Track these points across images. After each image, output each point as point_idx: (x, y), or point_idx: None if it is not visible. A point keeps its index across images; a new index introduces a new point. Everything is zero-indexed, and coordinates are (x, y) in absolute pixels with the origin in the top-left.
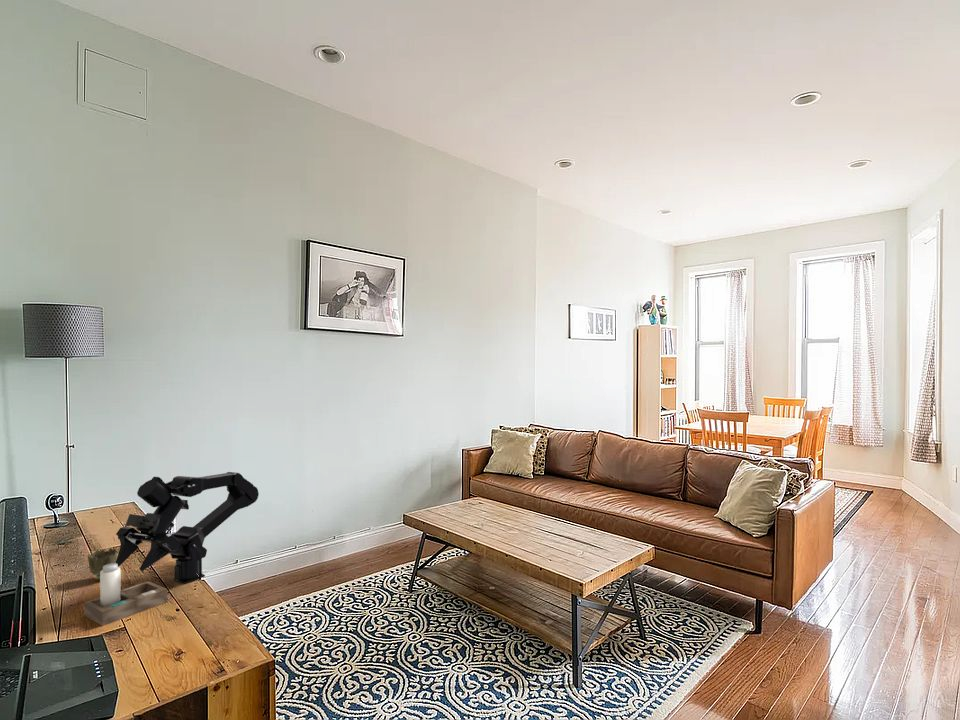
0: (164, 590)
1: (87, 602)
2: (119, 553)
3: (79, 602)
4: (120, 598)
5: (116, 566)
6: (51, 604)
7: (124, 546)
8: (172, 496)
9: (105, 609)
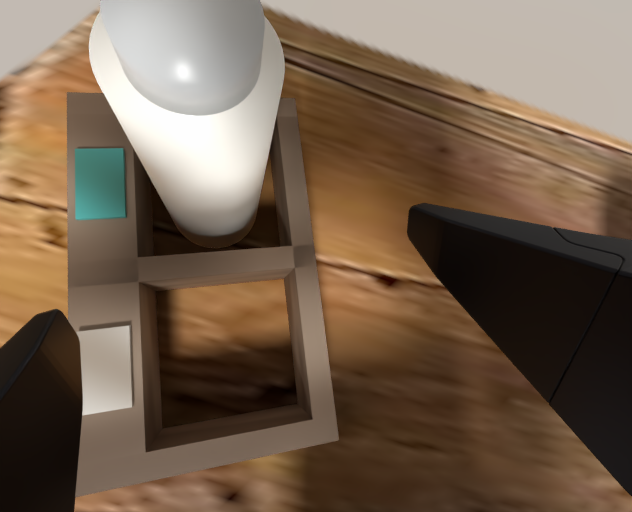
0: None
1: (281, 105)
2: (524, 229)
3: (448, 177)
4: (184, 223)
5: (122, 54)
6: (500, 113)
7: (606, 273)
8: None
9: (89, 114)
